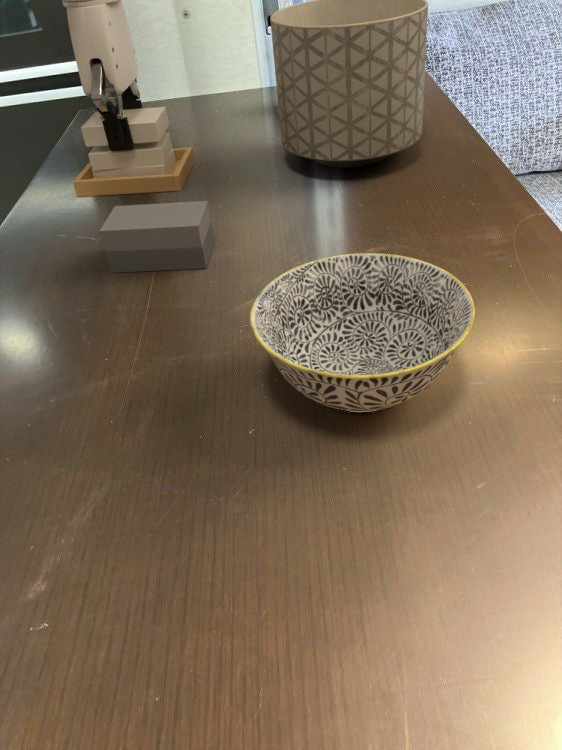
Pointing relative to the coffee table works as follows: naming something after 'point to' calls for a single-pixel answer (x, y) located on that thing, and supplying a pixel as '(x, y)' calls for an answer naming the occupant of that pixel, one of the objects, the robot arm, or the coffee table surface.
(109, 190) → the shallow wooden box
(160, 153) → the taupe rectangular block
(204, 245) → the grey rectangular block
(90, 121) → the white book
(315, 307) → the bowl
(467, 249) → the coffee table surface
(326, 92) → the planter
